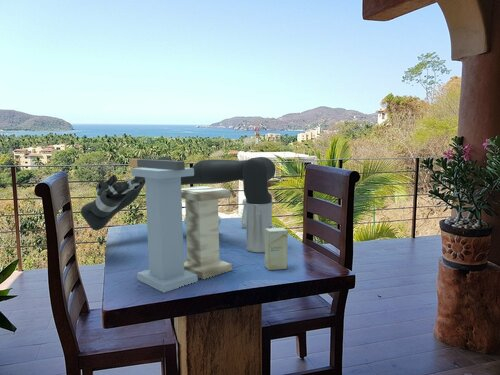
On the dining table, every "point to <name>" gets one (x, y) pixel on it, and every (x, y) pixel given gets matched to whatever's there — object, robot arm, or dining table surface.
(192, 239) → the marble stand
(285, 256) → the skincare box
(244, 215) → the salt shaker
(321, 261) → the dining table surface
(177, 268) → the tall stand
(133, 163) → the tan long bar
